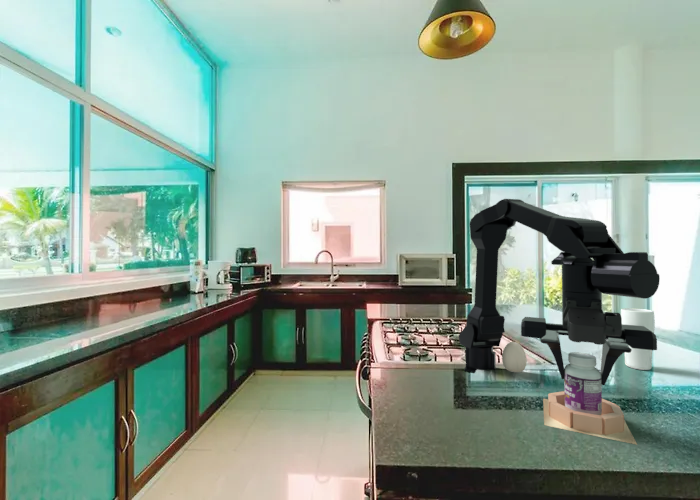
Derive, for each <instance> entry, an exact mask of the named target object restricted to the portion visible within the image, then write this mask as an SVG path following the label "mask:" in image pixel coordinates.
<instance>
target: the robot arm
mask: <svg viewBox="0 0 700 500" xmlns="http://www.w3.org/2000/svg"><path fill="white" fill-rule="evenodd" d="M516 223H519V224H521V225H523V226H525V227H526V228H527V227H528V228H530V229H532V230H534V231H537V232H538V233H541V234H542V235H544V236H545V237H546V239H547V241H548V242H549V243H550V244H551V245H553V246H554V247H555V248H557V249H558V250H560V251H561V252H560V253H559V254H558V255H557V256H556V257H555V258H553V260H551V262H550V263H551V265H554V266H555V265H556V266H561V302H562V303H561V305H562V306H561V309H562V310H561V313H562V314H561V317H562V319H561V320H562V321H561V322H562V324H560V323H551V322H547V321H546V318H545V317H532V316H531V317H530V316H524V318H522V319H521V323H520V330H521V331H520V336H521V337H525V338H533V339H540V343H541V344H545V345H547V346H548V348H549V350H550V351H551V353H552V355H553V357H554V360H555V362H556V366H557V369H558V371H559V375H560V377H561V379H562V380H564V379H565V371H564V368H565V365H564V359H563V353H562V348H561V341H560V337H559V335H560V336H568V339H569V340H570V341H571V342H574V343H591V344H595V345H599V346H600V345H602V349H601V361H600V370H599V371H600V373H601V385H602V386H605V385H606V383H607V381H608V378H609V376H610V374H611V372H612V369H613V367H614V365H615V364H616V362H617V360H618V359H619V357H621V356H622V355H624V353H625V352H626V353H630V352H631V349H630V348H629V346H630V347H631V348H636V349H646V350H653V351H657V350H658V339H657V335H656V334H655V332H654V333H653V332H652V331H650V330H649V329H647V328H646V327H644V326H635V325H623V324H622V319H621V312H613V311H611V312H610V311H605V312H603V294H604V295H610V296H619V297H627V298H628V297H629V298H635V299H636V298H637V299H644V300H645V299H649V298H652V297H653V296H654V295H655V294H656V293H657V290H658V289H659V285H660V274H659V273H658V271H657V268H656V266H655V265H654V264H653V263H652V262H651V261H650V260H649V254H648V252H645V251H637V252H635V251H634V252H633V251H630V252H629V251H628V252H625V253H624V251H623V250H622V249H621V248H620V246H619V245H618V244H617V243H616V241H615V240H614V239H613V237H611V236H610V234H609V231H608V229H607V227H608V226H607V224H605V223H604V222H602V221H600V220H595V219H589V218H583V217H573V216H571V217H570V216H565V215H564V216H563V215H561V214H558V213H555V212H552V211H549V210H546V209H544V208H541V207H538V206H535V205H533V204H530V203H527V202H524V200H522V199H519V198H517V199H516V198H515V199H514V198H503V199H501V200H499V201H498V202H497V203H495V204H493V205H491V206H488V207H486V208H484V209H482V210H480V211H479V212H477V213H475V215H474V216H473V217H472V218H471V219H470V221H469V232H470V239H471V241H472V244H473V245H474V246H475V248H476V262H475V264H476V265H475V286H474V306H473V307H472V308H471V310H470V312H469V313H468V314H467V317H466V325H465V326H464V328H463V330H462V331H461V332H460V334H459V335H458V340H459V345H461V346H463V347H465V367H464V368H463V370H464V372H470V373H471V372H472V373H476V371H477V370H480V371H481V370H483V371H484V370H485V371H486V370H490V371H491V370H493V371H495V370H496V366H497V365H496V362H497V360H496V356H497V355H496V352H495V351H494V347H500V345H501V340H502V338H503V335H504V333H505V320H506V319H505V316H504V315H501V313H499V311H498V309H497V293H498V292H497V290H498V289H497V286H498V265H499V250H500V248H501V246H502V245H503V243H504V242H505V241H506V238H507V233H508V230H510V229H511V228H513V227H514V226H516Z"/></svg>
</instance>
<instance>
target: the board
mask: <svg viewBox="0 0 700 500" xmlns="http://www.w3.org/2000/svg"><path fill="white" fill-rule="evenodd" d="M542 402H543V423H544V424H543V426H546V427H551V428H555V429H561V430H565V431H570V432H575V433H580V434H584V435H589V436H593V437H597V438H598V437H599V438H603V439H608V440H613V441H617V442H621V443H622V442H623V443H625V444H626V443H627V444H631V445H637V446H638V443H637V441H636V440H635V437H634V436H633V434H632V431H631V429H630V428H629V426H628V424H627V422H626V420H625V419H624V431H623V432H619V433H614V434H609V435H604V434H602V435H600V434H595V433H590V432H586V431H581V430H576V429H573V427H572V428H569V427H568V426H566V425H564V424H562V423H560V422H558V421H557V420H555V419H553V418H551V417H550V416H549V408H548V398H542Z"/></svg>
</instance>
